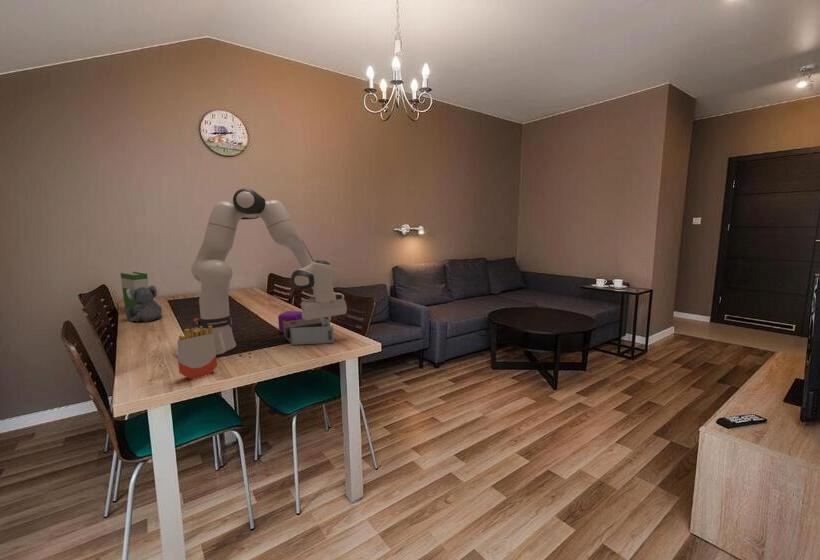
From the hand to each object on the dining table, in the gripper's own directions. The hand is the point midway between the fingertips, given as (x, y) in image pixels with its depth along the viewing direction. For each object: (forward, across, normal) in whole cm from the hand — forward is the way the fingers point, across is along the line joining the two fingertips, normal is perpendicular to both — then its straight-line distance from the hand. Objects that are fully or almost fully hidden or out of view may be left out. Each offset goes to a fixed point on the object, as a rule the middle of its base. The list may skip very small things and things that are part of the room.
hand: (325, 326), depth 167 cm
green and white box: (+6, -75, +124) cm, 145 cm away
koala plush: (+6, -70, +97) cm, 120 cm away
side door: (+7, -7, -1) cm, 10 cm away
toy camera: (+7, -7, +25) cm, 27 cm away
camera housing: (+7, -5, +10) cm, 13 cm away
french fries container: (+6, -52, -11) cm, 53 cm away
